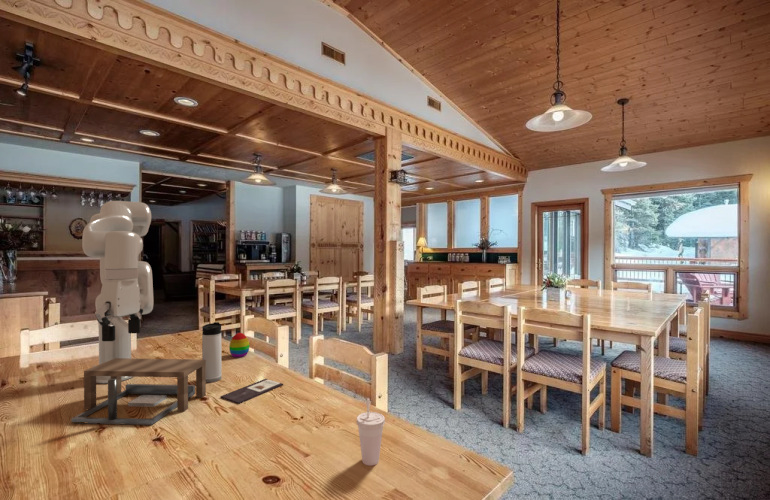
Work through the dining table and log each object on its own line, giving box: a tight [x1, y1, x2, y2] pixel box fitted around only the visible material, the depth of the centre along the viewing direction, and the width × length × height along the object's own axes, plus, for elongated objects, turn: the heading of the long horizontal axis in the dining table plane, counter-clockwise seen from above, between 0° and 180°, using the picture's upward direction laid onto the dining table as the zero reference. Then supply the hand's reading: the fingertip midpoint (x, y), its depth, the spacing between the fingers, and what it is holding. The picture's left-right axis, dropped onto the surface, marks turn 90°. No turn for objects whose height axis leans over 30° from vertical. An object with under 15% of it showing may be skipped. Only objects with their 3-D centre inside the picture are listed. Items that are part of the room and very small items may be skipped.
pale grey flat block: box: [127, 394, 168, 408], centre depth 115 cm, size 8×6×2 cm
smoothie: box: [355, 398, 386, 466], centre depth 84 cm, size 6×6×14 cm
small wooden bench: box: [83, 357, 207, 413], centre depth 115 cm, size 30×12×12 cm, turn 88°
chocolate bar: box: [219, 378, 284, 405], centre depth 123 cm, size 9×1×18 cm
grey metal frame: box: [71, 378, 196, 426], centre depth 110 cm, size 22×22×12 cm
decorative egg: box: [228, 332, 250, 358], centre depth 163 cm, size 8×8×10 cm
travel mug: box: [201, 321, 223, 383], centre depth 134 cm, size 6×7×20 cm
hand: (122, 336), depth 104 cm, fingers open, 9 cm apart
